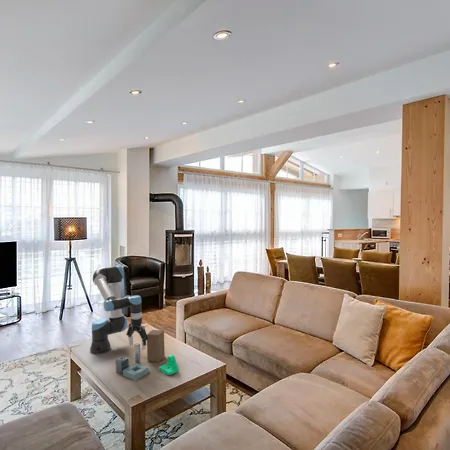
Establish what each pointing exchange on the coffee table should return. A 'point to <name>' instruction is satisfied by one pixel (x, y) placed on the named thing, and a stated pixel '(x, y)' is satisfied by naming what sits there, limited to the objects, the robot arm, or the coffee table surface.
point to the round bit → (137, 353)
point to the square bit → (121, 364)
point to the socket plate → (135, 371)
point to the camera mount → (170, 366)
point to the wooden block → (155, 345)
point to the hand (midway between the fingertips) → (137, 347)
